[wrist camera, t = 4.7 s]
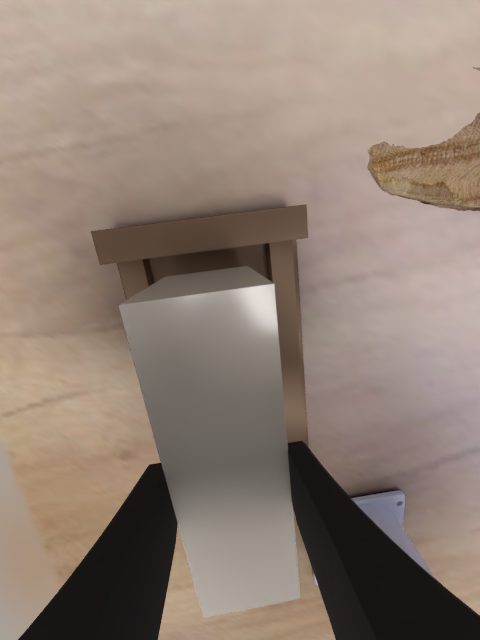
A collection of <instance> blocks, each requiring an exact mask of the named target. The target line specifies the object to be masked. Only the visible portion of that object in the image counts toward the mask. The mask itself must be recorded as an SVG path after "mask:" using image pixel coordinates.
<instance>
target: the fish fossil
mask: <svg viewBox="0 0 480 640" xmlns="http://www.w3.org/2000/svg"><path fill="white" fill-rule="evenodd" d="M473 68H474V67H473ZM474 69H477V70H480V68H474ZM370 149H371V150H368V153H369V154H370V161H369V164H368V166H367V167H368V170H369V171H370V173H371V175H372V176H373V178H374V180H375V181H376V182H377V184H378V185H379V187H380V188H382V189H383V190H384V191H385V192H388V193H389V194H391V195H397V196H400V197H404V198H407V199H413V200H418V201H420V202H422V203H424V204H431V205H434V206H437V207H439V208H451V209H456V210H458V211H460V210H462V211H466V210H472V211H480V113H478V114H477V116H476V117H475V120H474V121H473V122H472V123H470V124H469V125H467V126H465V127H464V128H463V129H462V130H461V131H459V132H458V133H457V134H456V135H454V137H453V138H450V139H448V140H447V141H444V142H442V143H441V144H437V145H431V146H428V147H422V148H420V149H419V148H412V149H411V148H405V147H404V146H394V144H393V145H392V146H390V145H389V144H388V143H386V142H382V143H380V144H376V145H373V146H372V147H371V148H370Z"/></svg>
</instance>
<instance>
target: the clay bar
mask: <svg viewBox="0 0 480 640" xmlns="http://www.w3.org/2000/svg"><path fill="white" fill-rule="evenodd" d="M118 306H119V309H120V313H121V317H122V320H123V324H124V328H125V331H126V335H127V339H128V343H129V346H130V350H131V354H132V357H133V361H134V365H135V368H136V372H137V376H138V379H139V383H140V387H141V391H142V394H143V398H144V402H145V405H146V409H147V413H148V416H149V420H150V424H151V427H152V431H153V435H154V439H155V442H156V446H157V450H158V453H159V457H160V461H161V464H162V468H163V471H164V474H165V478H166V482H167V486H168V489H169V493H170V497H171V500H172V504H173V508H174V511H175V515H176V519H177V523H178V527H179V531H180V535H181V538H182V542H183V546H184V549H185V553H186V557H187V560H188V564H189V568H190V571H191V575H192V579H193V583H194V586H195V590H196V594H197V597H198V601H199V605H200V608H201V612H202V616H203V618H207V617H212V616H217V615H222V614H227V613H232V612H237V611H242V610H247V609H252V608H257V607H262V606H267V605H272V604H277V603H282V602H287V601H292V600H297V599H301V598H300V586H299V574H298V562H297V550H296V538H295V526H294V514H293V504H292V496H291V485H290V473H289V461H288V442H287V430H286V418H285V406H284V394H283V383H282V371H281V359H280V347H279V335H278V323H277V311H276V299H275V287H274V283H272V282H271V281H270V280H268V279H267V278H265V277H264V276H262V275H261V274H259V273H258V272H256V271H255V270H253V269H252V268H250V267H249V266H242V267H235V268H227V269H220V270H212V271H205V272H197V273H190V274H182V275H175V276H167V277H164V278H162V279H160V280H159V281H157V282H156V283H154V284H152V285H151V286H149V287H147V288H146V289H144V290H142V291H141V292H139V293H137V294H136V295H134V296H133V297H131V298H129V299H128V300H126V301H124V302H123V303H121V304H119V305H118Z"/></svg>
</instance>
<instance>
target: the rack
mask: <svg viewBox="0 0 480 640" xmlns="http://www.w3.org/2000/svg"><path fill="white" fill-rule="evenodd" d="M91 234H92V237H93V241H94V244H95V248H96V252H97V255H98V259H99V263H100V265H102V264H110V263H117V265H118V269H119V273H120V277H121V281H122V285H123V289H124V293H125V296H126V300H128V299H129V298H131V297H133V296H134V295H136V294H137V293H139V292H141V291H142V290H144V289H146V288H147V287H149V286H151V285H152V284H154V283H156V282H157V281H159V280H160V279H162V278H164V277H167V276H175V275H182V274H190V273H197V272H205V271H212V270H220V269H227V268H235V267H242V266H249V267H250V268H252V269H253V270H255V271H256V272H258V273H259V274H261V275H262V276H264V277H265V278H267V279H268V280H270V281H271V282H272V283H274V287H275V299H276V311H277V323H278V335H279V347H280V359H281V371H282V383H283V394H284V406H285V418H286V430H287V442H288V443H290V442H297V441H303V442H304V443H306V445H307V446H308V433H307V416H306V399H305V382H304V364H303V347H302V330H301V313H300V296H299V278H298V261H297V244H296V239H303V238H308V229H307V207H306V205H298V206H290V207H282V208H274V209H266V210H258V211H250V212H242V213H234V214H226V215H218V216H210V217H202V218H194V219H186V220H178V221H170V222H162V223H154V224H146V225H138V226H130V227H122V228H114V229H106V230H98V231H91Z"/></svg>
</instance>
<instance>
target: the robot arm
mask: <svg viewBox="0 0 480 640" xmlns="http://www.w3.org/2000/svg"><path fill="white" fill-rule="evenodd" d="M288 461H289V473H290V485H291V496H292V504H293V508H294V512H295V516H296V520H297V524H298V527H299V530H300V533H301V536H302V539H303V542H304V545H305V548H306V551H307V554H308V557H309V559H310V562H311V565H312V568H313V576H314V581H315V584H316V585H318V586H319V589H320V592H321V595H322V598H323V601H324V604H325V607H326V610H327V613H328V616H329V619H330V622H331V625H332V629H333V632H334V635H335V638H336V640H480V616H479V615H478V614H477V613H476V612H475V611H473V610H472V609H471V608H470V607H468V606H467V605H466V604H465V603H463V602H462V601H461V600H460V599H459V598H457V597H456V596H455V595H454V594H452V593H451V592H450V591H449V590H448V589H446V588H445V587H444V586H443V585H442V584H441V583H439V582H438V581H437V580H436V578H435V577H434V575H433V574H432V572H431V571H430V569H429V568H428V566H427V564H426V563H425V561H424V560H423V558H422V557H421V555H420V554H419V552H418V551H417V549H416V547H415V546H414V544H413V543H412V541H411V540H410V538H409V537H408V535H407V534H406V532H405V530H404V529H403V521H404V508H405V495H404V494H403V492H402V491H391V492H385V493H379V494H373V495H367V496H361V497H355V498H350V497H349V495H348V494H347V493H346V492H345V491H344V490H343V489H342V488H341V487H340V486H339V484H338V483H337V482H336V481H335V480H334V479H333V478H332V476H331V475H330V474H329V473H328V472H327V470H326V469H325V468H324V467H323V466H322V464H321V463H320V462H319V461H318V459H317V458H316V457H315V456H314V454H313V453H312V452H311V450H310V449H309V448H308V446H307V445H306V443H304V442H303V441H297V442H290V443H288ZM176 533H177V519H176V515H175V511H174V508H173V504H172V500H171V497H170V493H169V489H168V486H167V482H166V478H165V474H164V471H163V468H162V464H161V463H157V464H151V465H149V466H148V467H147V469H146V470H145V472H144V473H143V475H142V476H141V478H140V479H139V481H138V482H137V484H136V485H135V487H134V488H133V490H132V491H131V493H130V494H129V496H128V497H127V499H126V500H125V502H124V503H123V505H122V506H121V508H120V509H119V510H118V512H117V513H116V515H115V516H114V518H113V519H112V520H111V522H110V523H109V525H108V526H107V528H106V529H105V530H104V532H103V533H102V535H101V536H100V537H99V539H98V540H97V542H96V543H95V544H94V546H93V547H92V548H91V550H90V551H89V552H88V554H87V555H86V556H85V558H84V559H83V560H82V562H81V563H80V564H79V566H78V567H77V568H76V569H75V571H74V572H73V573H72V575H71V576H70V577H69V579H68V580H67V581H66V582H65V584H64V585H63V586H62V587H61V589H60V590H59V591H58V593H57V594H56V595H55V596H54V597H53V599H52V600H51V601H50V602H49V604H48V605H47V606H46V607H45V608H44V610H43V611H42V612H41V613H40V615H39V616H38V617H37V618H36V619H35V620H34V622H33V623H32V624H31V625H30V626H29V628H28V629H27V630H26V631H25V632H24V634H23V635H22V636H21V637H20V638H19V639H18V640H158V635H159V630H160V624H161V619H162V614H163V608H164V603H165V598H166V592H167V587H168V582H169V577H170V571H171V566H172V560H173V555H174V549H175V543H176Z"/></svg>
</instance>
